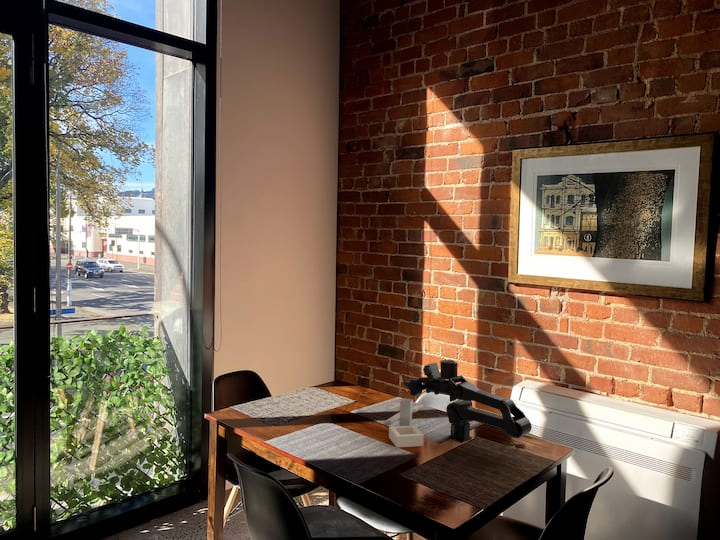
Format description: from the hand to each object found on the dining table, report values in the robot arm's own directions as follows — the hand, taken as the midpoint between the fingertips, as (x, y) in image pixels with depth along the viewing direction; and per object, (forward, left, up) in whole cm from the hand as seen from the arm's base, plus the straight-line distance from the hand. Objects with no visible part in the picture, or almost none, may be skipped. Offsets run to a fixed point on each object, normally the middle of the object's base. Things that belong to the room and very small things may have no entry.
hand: (411, 380), depth 235 cm
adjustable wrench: (+7, -1, -17) cm, 18 cm away
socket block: (-15, +18, -16) cm, 28 cm away
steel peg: (-7, +10, -16) cm, 20 cm away
